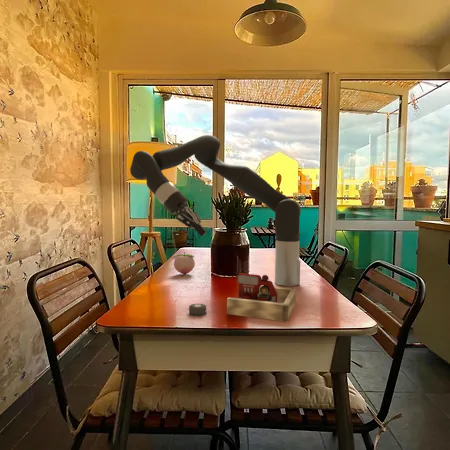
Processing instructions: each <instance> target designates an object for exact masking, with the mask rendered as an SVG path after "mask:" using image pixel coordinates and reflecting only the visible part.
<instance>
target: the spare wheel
mask: <svg viewBox="0 0 450 450" xmlns="http://www.w3.org/2000/svg"><path fill="white" fill-rule="evenodd" d="M188 315H189V316H193V317H203V316H205V315H207V305H206V304H204V303H194V304H189V306H188Z"/></svg>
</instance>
